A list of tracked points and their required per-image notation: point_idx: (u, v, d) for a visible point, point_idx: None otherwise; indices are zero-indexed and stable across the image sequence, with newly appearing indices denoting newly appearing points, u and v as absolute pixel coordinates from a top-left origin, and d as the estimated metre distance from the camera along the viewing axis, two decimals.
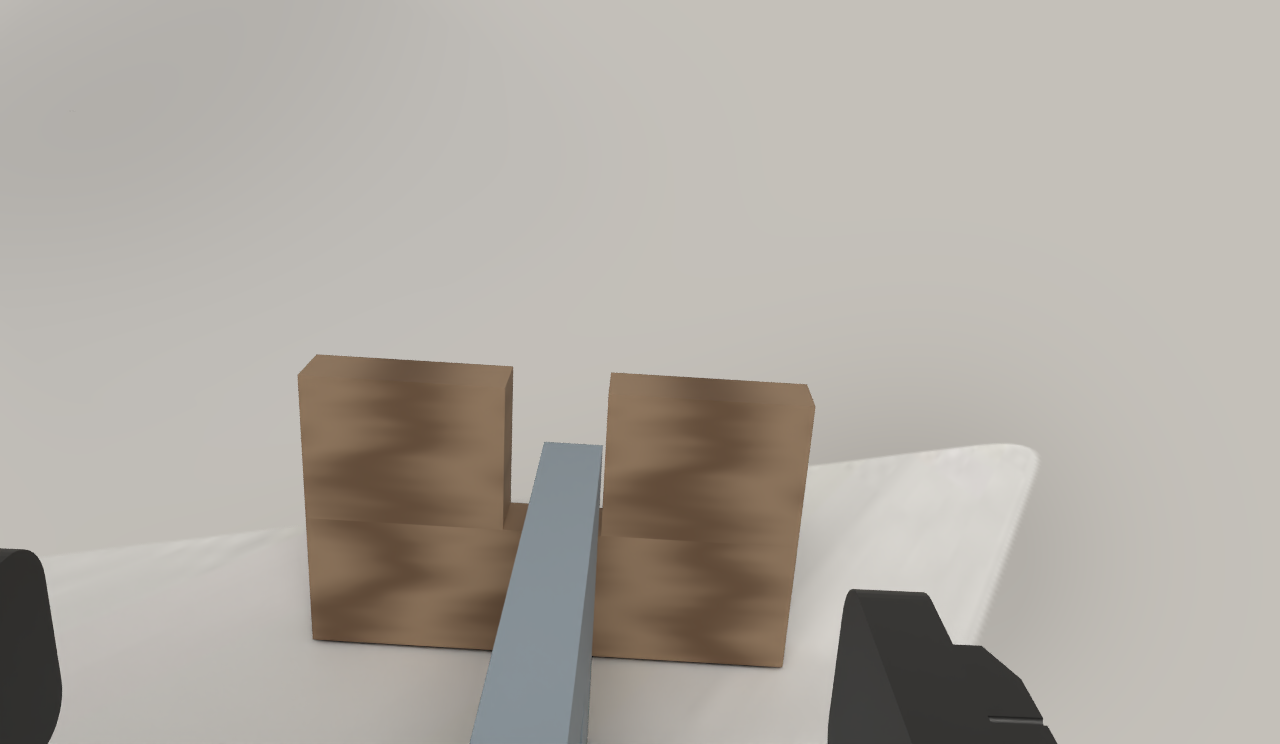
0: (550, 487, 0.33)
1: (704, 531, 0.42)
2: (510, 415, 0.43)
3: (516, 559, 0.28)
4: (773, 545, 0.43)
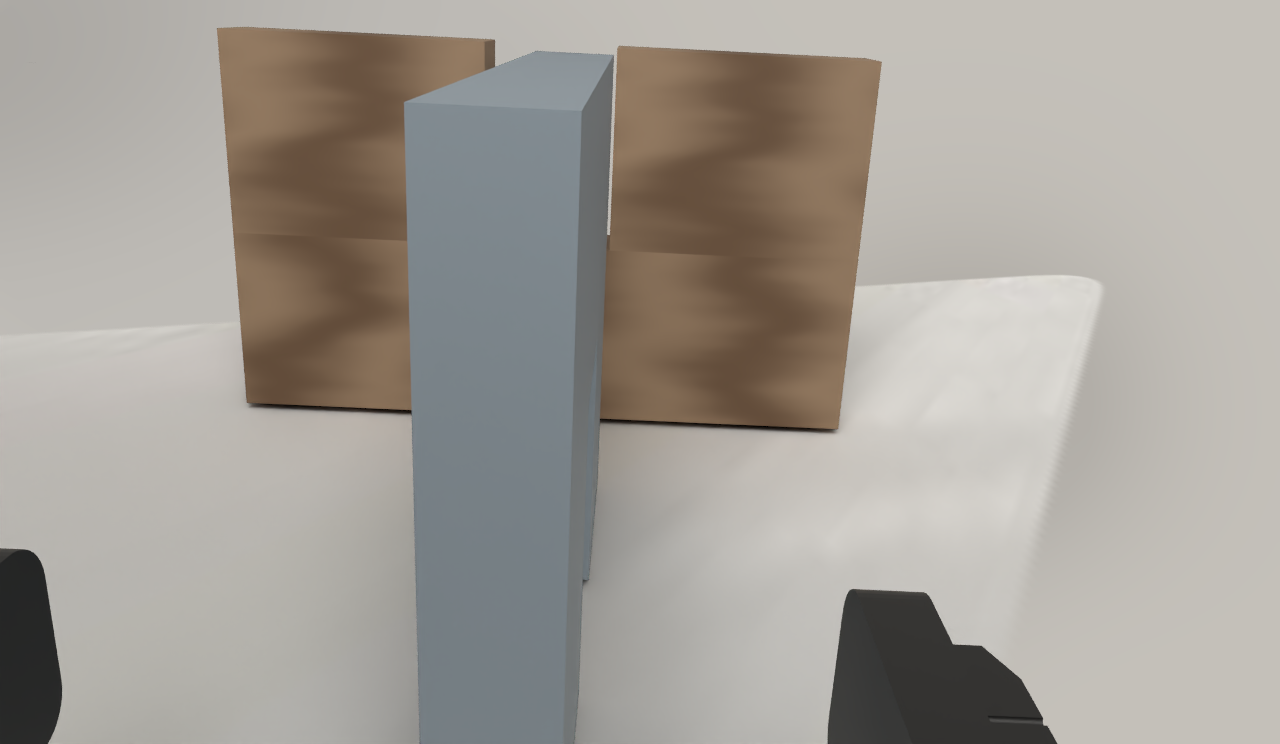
0: (546, 57, 0.24)
1: (740, 241, 0.33)
2: None
3: (499, 65, 0.19)
4: (827, 260, 0.34)
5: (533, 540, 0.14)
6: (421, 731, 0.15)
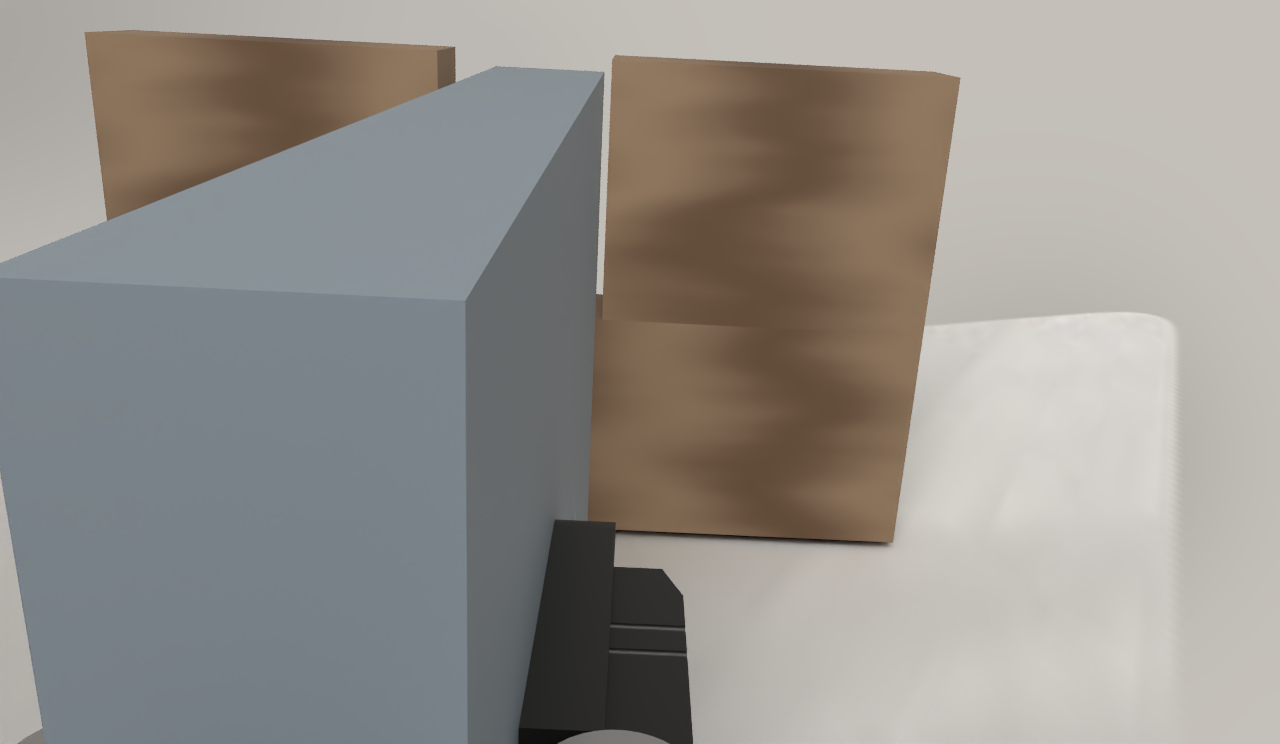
0: (501, 79, 0.16)
1: (771, 309, 0.26)
2: None
3: (407, 102, 0.12)
4: (883, 332, 0.26)
5: None
6: None
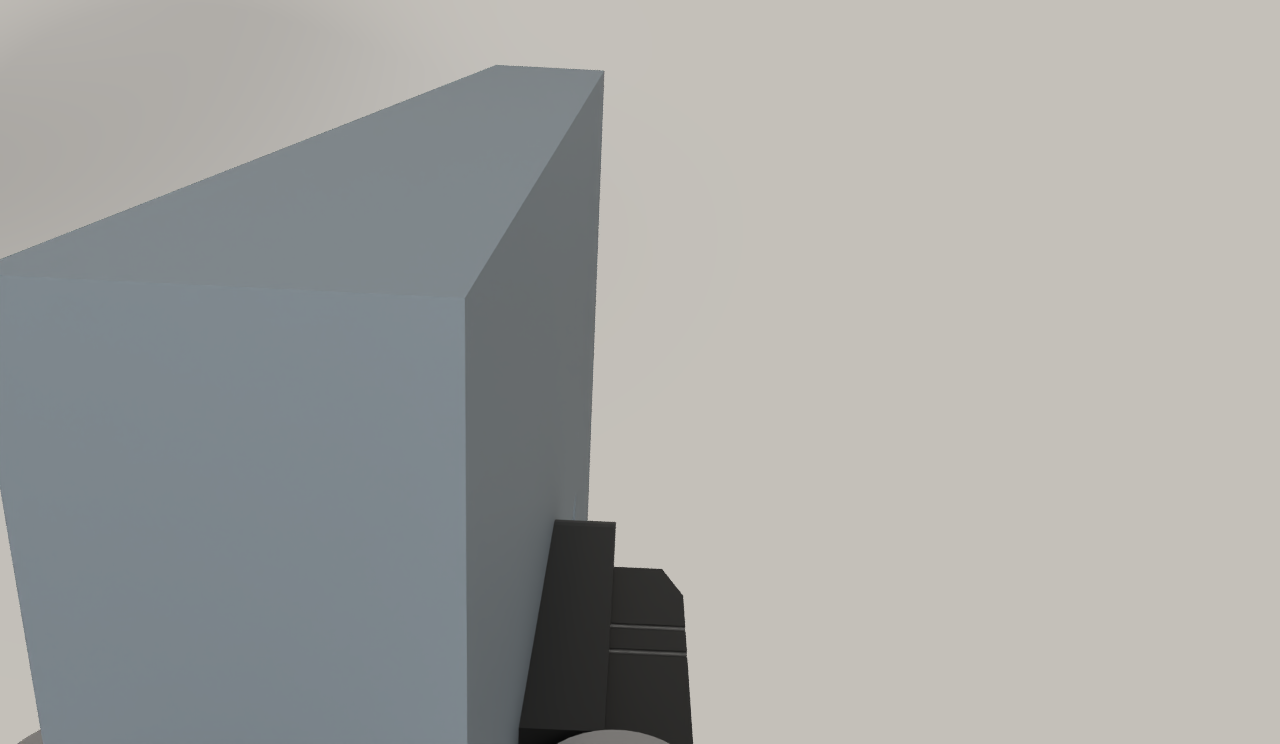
0: (501, 78, 0.16)
1: None
2: None
3: (407, 100, 0.12)
4: None
5: None
6: None
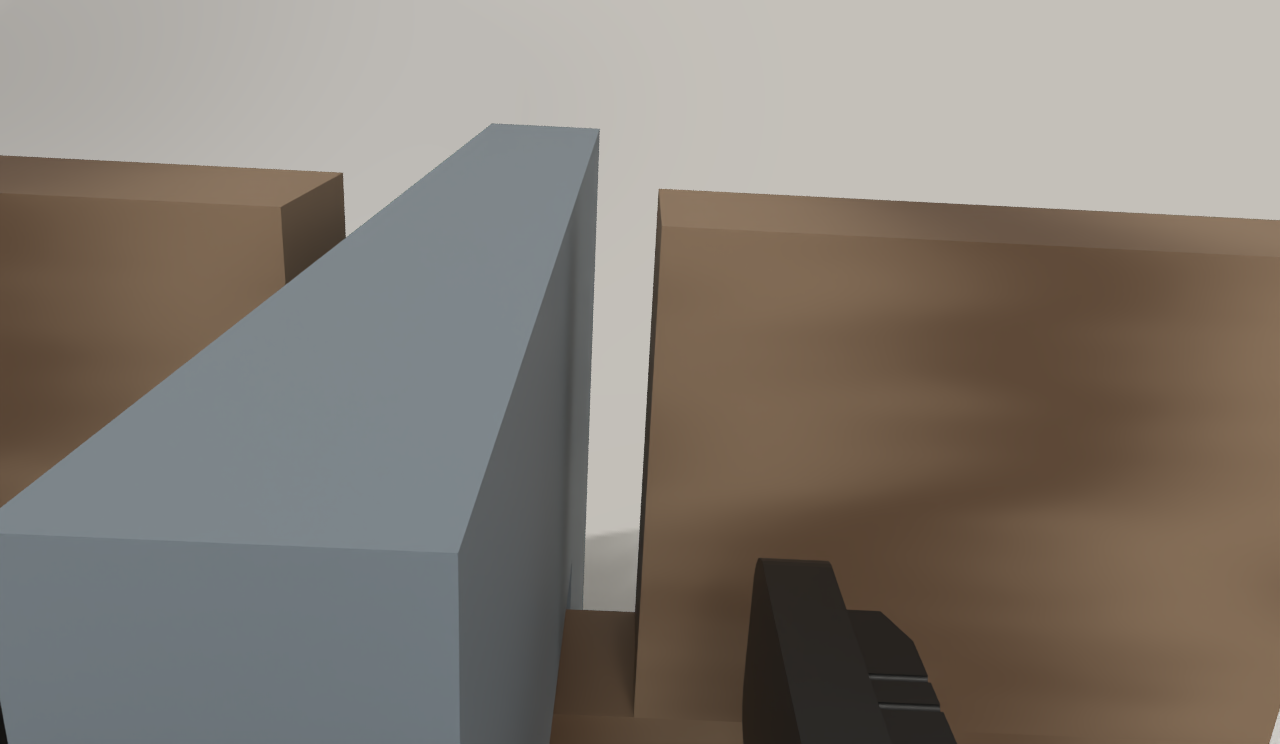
0: (496, 148, 0.16)
1: (971, 699, 0.13)
2: None
3: (403, 194, 0.12)
4: (1188, 737, 0.13)
5: None
6: None
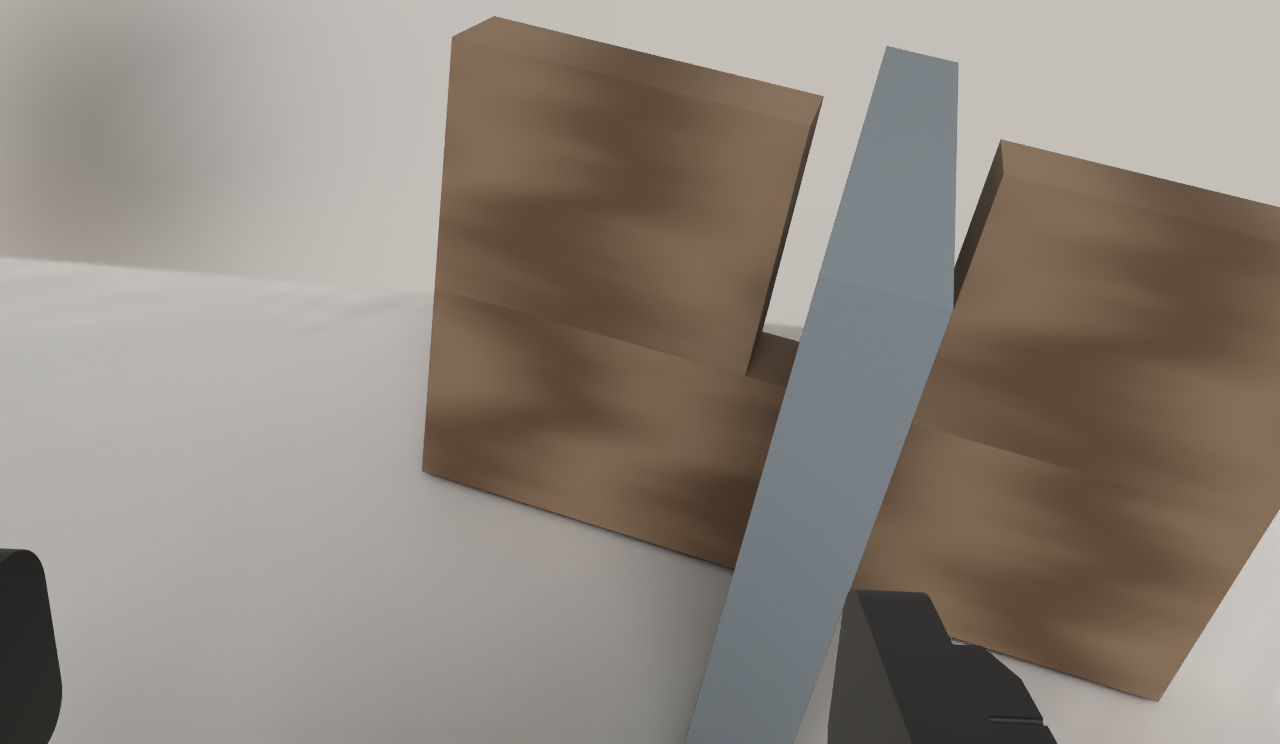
0: (899, 79, 0.26)
1: (1101, 458, 0.23)
2: (799, 183, 0.24)
3: (865, 123, 0.22)
4: (1222, 510, 0.23)
5: (825, 575, 0.18)
6: (707, 669, 0.20)
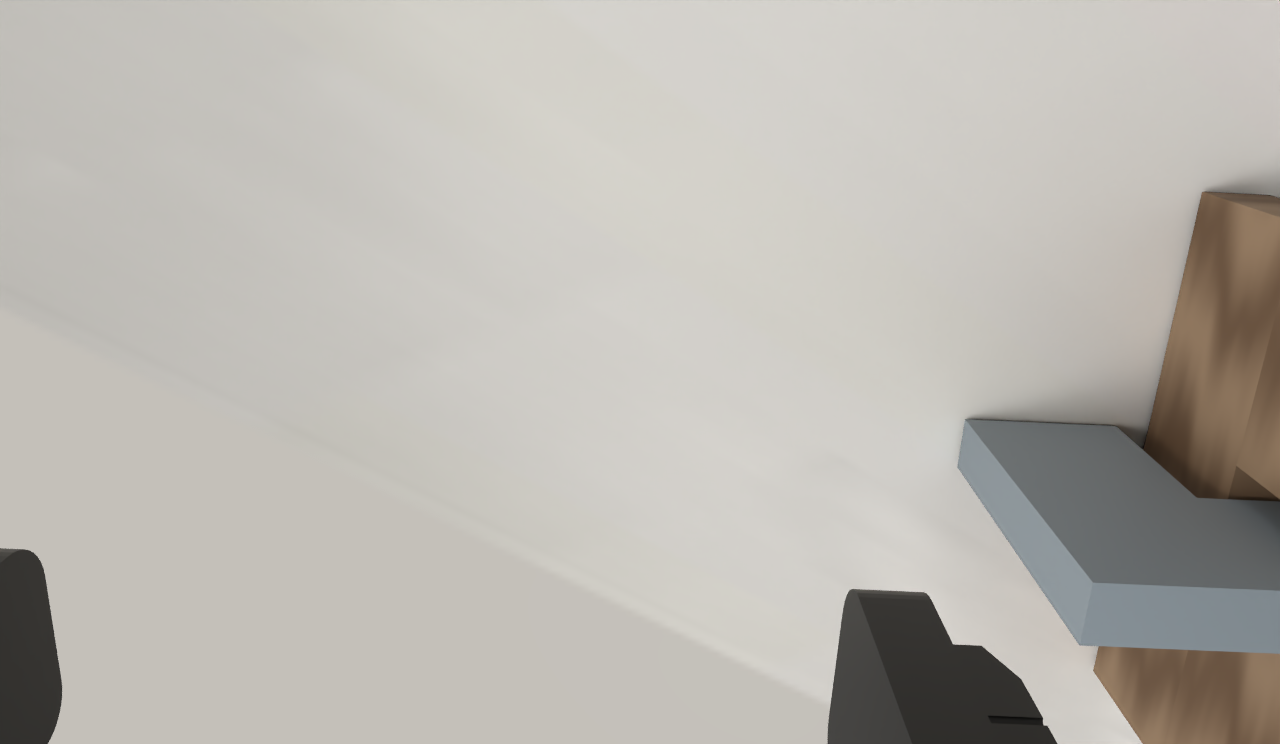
0: None
1: (1187, 685, 0.36)
2: None
3: None
4: None
5: (1016, 537, 0.34)
6: (994, 456, 0.37)
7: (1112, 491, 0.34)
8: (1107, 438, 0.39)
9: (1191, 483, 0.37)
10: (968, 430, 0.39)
